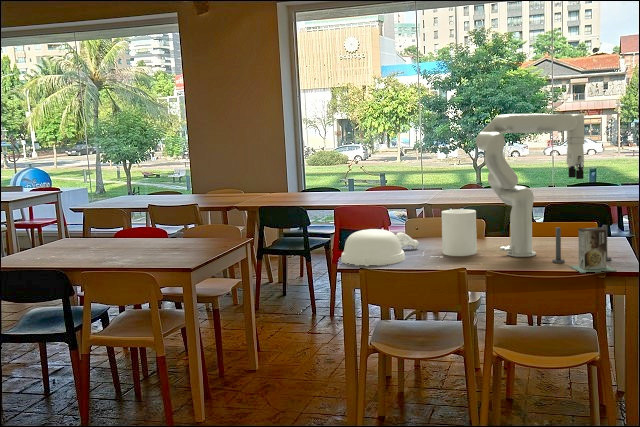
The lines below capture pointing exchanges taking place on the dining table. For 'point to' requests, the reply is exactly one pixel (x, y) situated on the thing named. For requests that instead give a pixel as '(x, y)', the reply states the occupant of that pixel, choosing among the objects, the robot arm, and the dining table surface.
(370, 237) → the dome cover
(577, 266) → the green mat
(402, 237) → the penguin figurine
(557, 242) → the post
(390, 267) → the dining table surface
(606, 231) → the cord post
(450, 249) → the canister
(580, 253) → the coffee box
